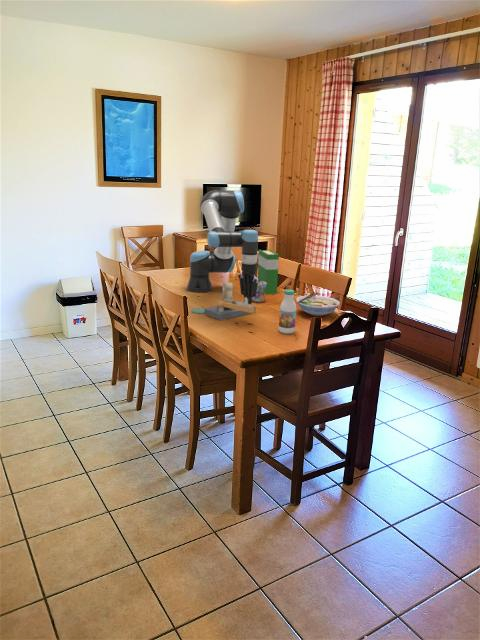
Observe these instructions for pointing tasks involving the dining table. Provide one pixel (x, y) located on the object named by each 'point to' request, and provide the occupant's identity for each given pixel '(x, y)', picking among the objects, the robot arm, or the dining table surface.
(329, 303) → the ramen bowl
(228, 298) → the plug
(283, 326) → the milk bottle
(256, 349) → the dining table surface
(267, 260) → the green cereal box
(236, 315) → the socket board
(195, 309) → the pad
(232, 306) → the clip
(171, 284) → the dining table surface
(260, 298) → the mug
